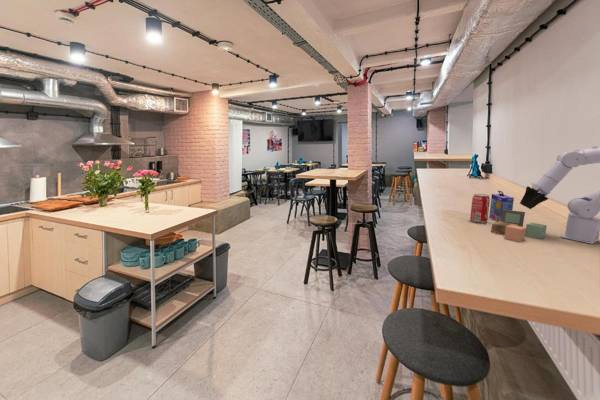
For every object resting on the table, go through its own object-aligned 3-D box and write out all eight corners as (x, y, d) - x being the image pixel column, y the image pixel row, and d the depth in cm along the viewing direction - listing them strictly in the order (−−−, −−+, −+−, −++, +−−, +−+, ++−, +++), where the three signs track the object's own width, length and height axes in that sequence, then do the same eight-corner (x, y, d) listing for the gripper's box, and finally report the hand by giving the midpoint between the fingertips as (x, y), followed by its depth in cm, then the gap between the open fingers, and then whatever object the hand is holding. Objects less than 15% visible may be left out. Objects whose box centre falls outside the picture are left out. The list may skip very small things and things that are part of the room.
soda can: (487, 224, 135) (491, 196, 132) (469, 222, 138) (472, 195, 136) (487, 221, 141) (490, 194, 138) (469, 218, 144) (473, 193, 142)
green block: (544, 237, 117) (546, 225, 116) (539, 239, 114) (541, 227, 113) (529, 234, 121) (531, 222, 120) (524, 236, 118) (526, 224, 117)
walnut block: (517, 234, 121) (518, 224, 120) (509, 237, 117) (511, 227, 116) (498, 230, 127) (499, 221, 126) (490, 232, 123) (492, 223, 122)
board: (500, 224, 134) (503, 208, 133) (522, 227, 129) (525, 211, 128) (499, 226, 131) (502, 210, 129) (522, 230, 126) (524, 213, 124)
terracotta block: (524, 240, 113) (526, 227, 112) (518, 242, 110) (520, 229, 109) (509, 236, 117) (511, 224, 116) (504, 238, 114) (505, 226, 113)
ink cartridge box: (487, 217, 148) (491, 189, 145) (499, 217, 147) (503, 189, 145) (498, 222, 138) (503, 192, 135) (511, 222, 138) (515, 192, 135)
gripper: (545, 177, 122) (521, 203, 127) (535, 169, 113) (510, 197, 118) (563, 186, 117) (537, 213, 122) (554, 179, 109) (527, 208, 114)
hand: (525, 206), depth 120 cm, fingers open, 7 cm apart
